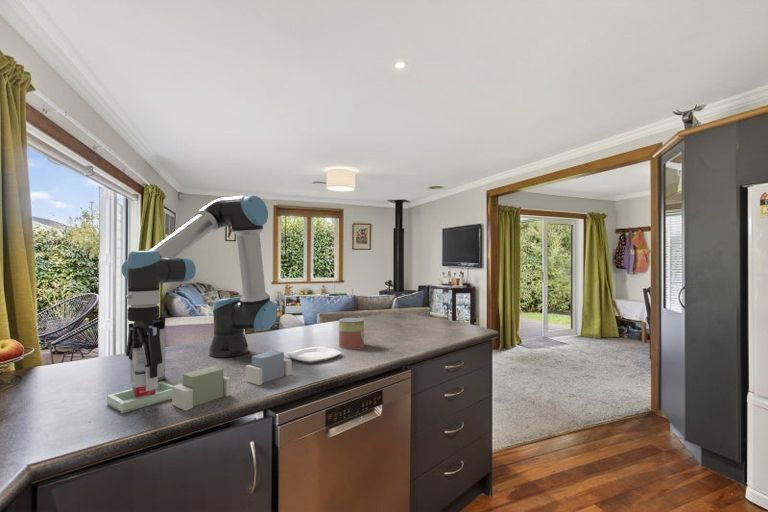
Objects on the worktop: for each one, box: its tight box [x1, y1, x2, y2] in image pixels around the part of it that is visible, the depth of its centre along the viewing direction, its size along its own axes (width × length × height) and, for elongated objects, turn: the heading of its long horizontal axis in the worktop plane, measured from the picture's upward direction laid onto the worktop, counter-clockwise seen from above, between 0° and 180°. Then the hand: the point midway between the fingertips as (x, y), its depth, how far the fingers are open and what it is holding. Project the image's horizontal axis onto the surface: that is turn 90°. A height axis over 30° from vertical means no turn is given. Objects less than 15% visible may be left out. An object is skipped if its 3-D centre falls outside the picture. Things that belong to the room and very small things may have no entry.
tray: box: [107, 380, 174, 414], centre depth 103 cm, size 10×14×2 cm
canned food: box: [338, 317, 365, 350], centre depth 165 cm, size 11×11×12 cm
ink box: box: [131, 347, 155, 398], centre depth 103 cm, size 8×5×12 cm, turn 39°
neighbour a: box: [182, 365, 224, 407], centre depth 104 cm, size 5×9×8 cm, turn 145°
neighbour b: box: [251, 349, 285, 384], centre depth 122 cm, size 5×9×8 cm, turn 145°
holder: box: [171, 357, 292, 412], centre depth 113 cm, size 7×36×5 cm, turn 145°
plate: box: [286, 345, 343, 364], centre depth 147 cm, size 19×19×2 cm
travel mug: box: [142, 316, 166, 382], centre depth 121 cm, size 6×7×20 cm
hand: (143, 385), depth 103 cm, fingers open, 9 cm apart
